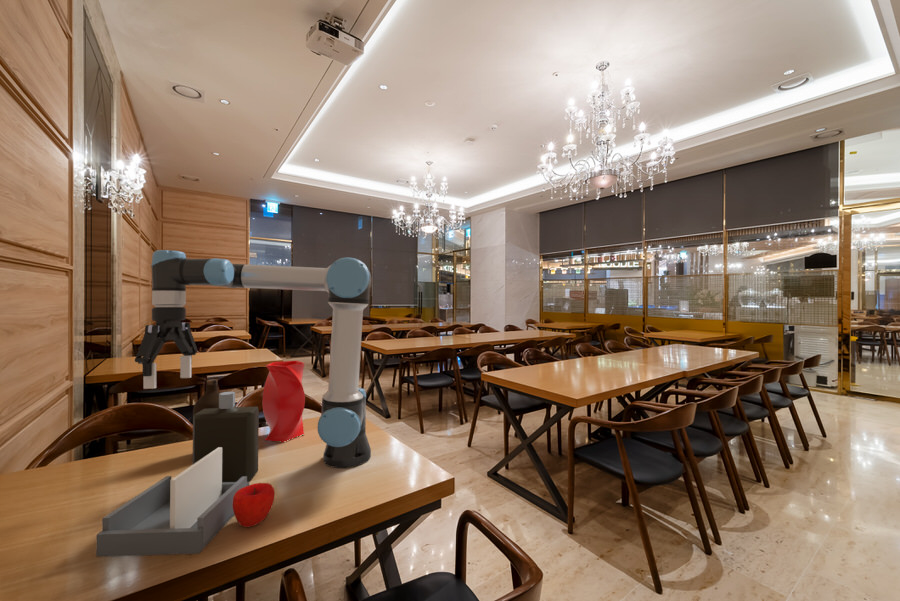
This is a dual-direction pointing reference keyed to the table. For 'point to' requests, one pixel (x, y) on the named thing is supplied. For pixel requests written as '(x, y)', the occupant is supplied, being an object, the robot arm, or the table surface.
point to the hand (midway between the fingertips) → (169, 382)
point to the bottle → (228, 437)
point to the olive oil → (208, 397)
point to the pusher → (195, 490)
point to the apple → (253, 503)
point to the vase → (284, 400)
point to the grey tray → (162, 524)
